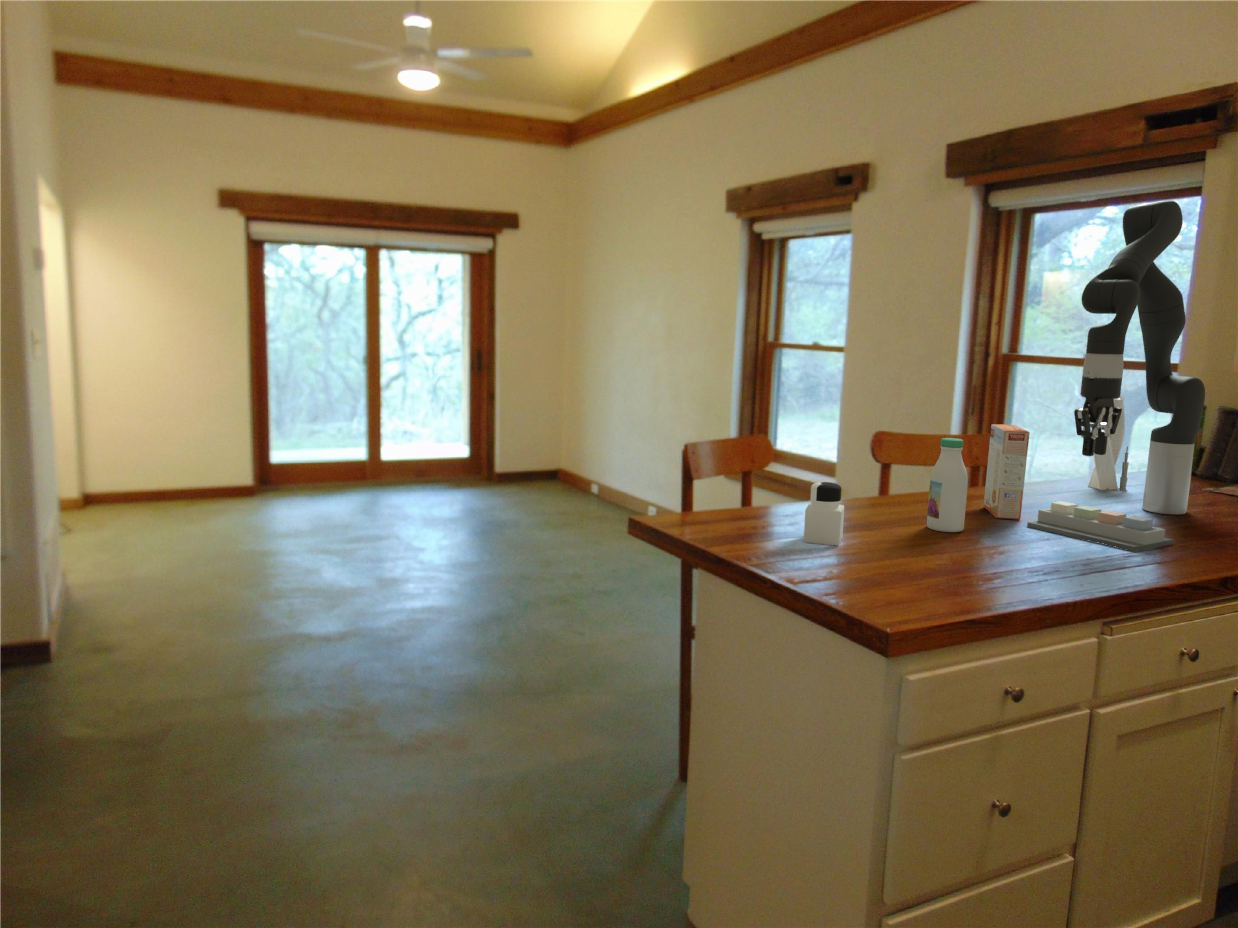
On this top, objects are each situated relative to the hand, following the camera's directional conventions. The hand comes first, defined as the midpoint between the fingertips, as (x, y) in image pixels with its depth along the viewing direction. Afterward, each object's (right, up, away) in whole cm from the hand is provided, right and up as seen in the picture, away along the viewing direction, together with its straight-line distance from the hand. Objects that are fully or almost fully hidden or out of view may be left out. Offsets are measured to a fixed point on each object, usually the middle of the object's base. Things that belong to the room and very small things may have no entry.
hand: (1093, 454), depth 190 cm
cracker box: (-11, -14, +21) cm, 27 cm away
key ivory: (-3, -14, +7) cm, 16 cm away
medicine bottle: (-61, -18, -9) cm, 64 cm away
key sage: (0, -14, +2) cm, 15 cm away
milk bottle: (-31, -17, +4) cm, 35 cm away
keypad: (+1, -17, 0) cm, 17 cm away
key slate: (+5, -16, -7) cm, 18 cm away
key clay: (+2, -15, -2) cm, 16 cm away
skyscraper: (+33, -9, +56) cm, 66 cm away
